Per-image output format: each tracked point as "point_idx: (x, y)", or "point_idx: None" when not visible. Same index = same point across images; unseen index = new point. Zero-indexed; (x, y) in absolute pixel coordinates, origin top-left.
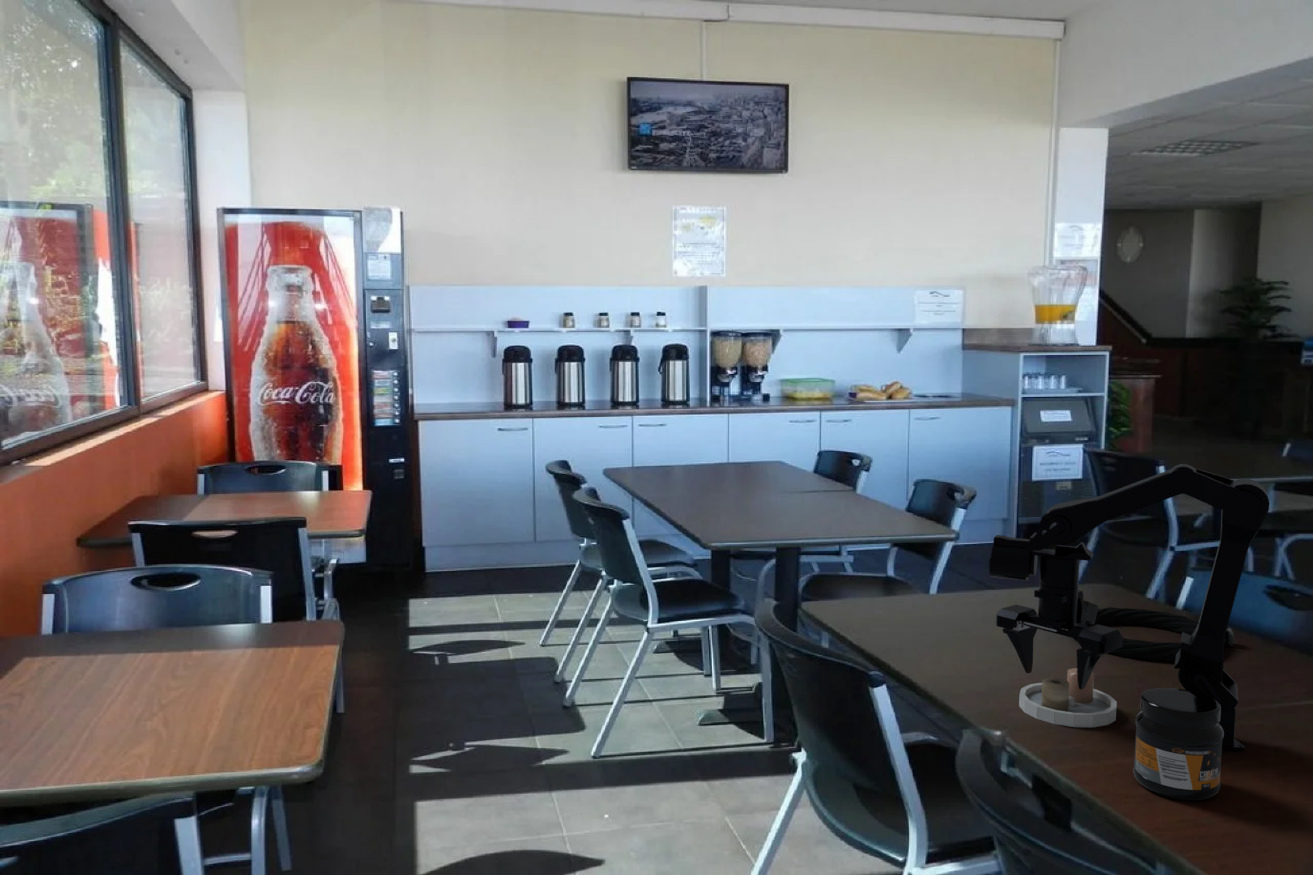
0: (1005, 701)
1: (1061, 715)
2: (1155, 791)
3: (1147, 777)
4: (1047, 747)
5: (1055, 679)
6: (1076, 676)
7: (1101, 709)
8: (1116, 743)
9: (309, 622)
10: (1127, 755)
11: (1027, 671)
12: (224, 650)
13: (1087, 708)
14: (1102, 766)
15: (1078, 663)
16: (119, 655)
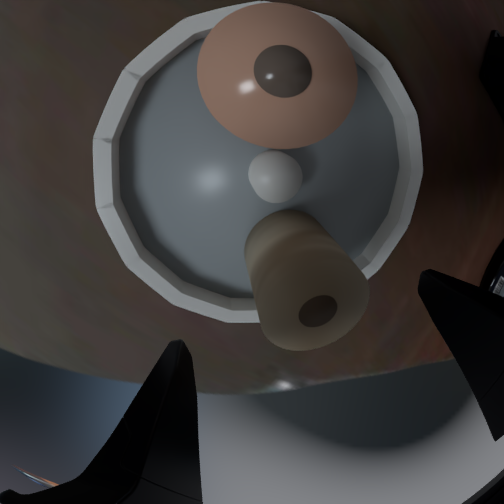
0: (133, 288)
1: None
2: None
3: None
4: (372, 350)
5: (296, 294)
6: (310, 142)
7: (364, 112)
8: (444, 235)
9: (15, 466)
10: (463, 258)
11: (192, 366)
12: (54, 486)
13: (337, 146)
14: None
15: (478, 391)
16: None
